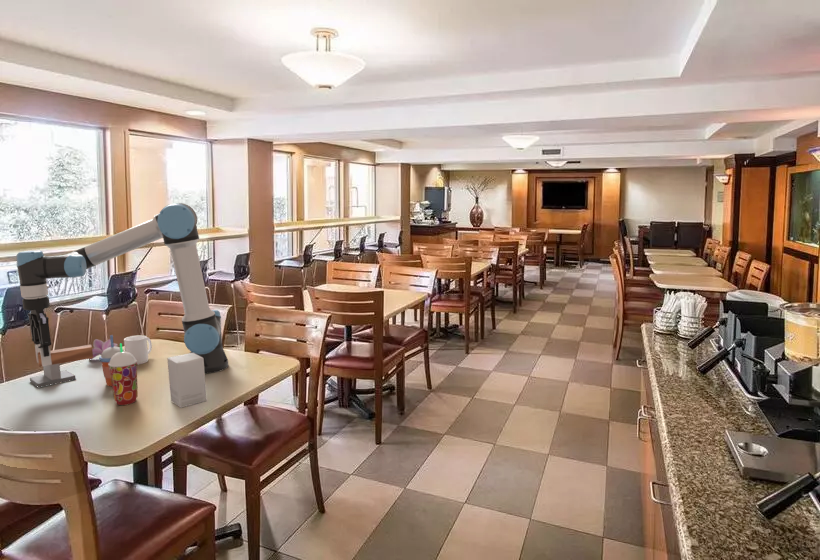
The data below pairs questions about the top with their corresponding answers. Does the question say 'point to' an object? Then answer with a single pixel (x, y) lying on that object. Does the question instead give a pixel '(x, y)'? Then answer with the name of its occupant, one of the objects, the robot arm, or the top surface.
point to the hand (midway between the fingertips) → (44, 363)
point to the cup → (138, 347)
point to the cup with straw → (108, 360)
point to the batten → (69, 354)
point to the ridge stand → (52, 376)
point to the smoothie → (123, 377)
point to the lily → (100, 347)
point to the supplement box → (187, 379)
